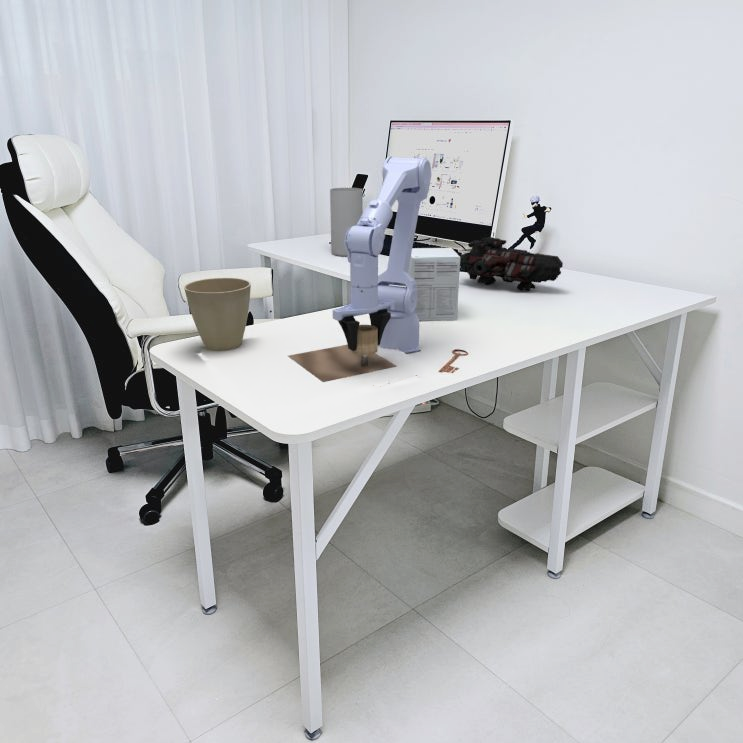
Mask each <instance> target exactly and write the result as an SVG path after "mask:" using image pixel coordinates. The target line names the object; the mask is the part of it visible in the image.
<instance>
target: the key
mask: <svg viewBox="0 0 743 743" xmlns="http://www.w3.org/2000/svg"><path fill="white" fill-rule="evenodd" d="M451 353H452V354H453V355H454V356H452V358H450V360H448V362H446V364H444V365H443V366H442V367H441V368H440V369H439V371H438V373H448V374H454V373H455V372H456V371H458V370H460V367H457V366H456V367H455V366H452V365H451V364H453V363H454V362H455V361H456V360H457V359H458V358H459V357H460V356H461V357H463V356H468V355H469V352H467V351H466V350H464V349H460V348H458V349H453V350H452V351H451Z"/></svg>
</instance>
